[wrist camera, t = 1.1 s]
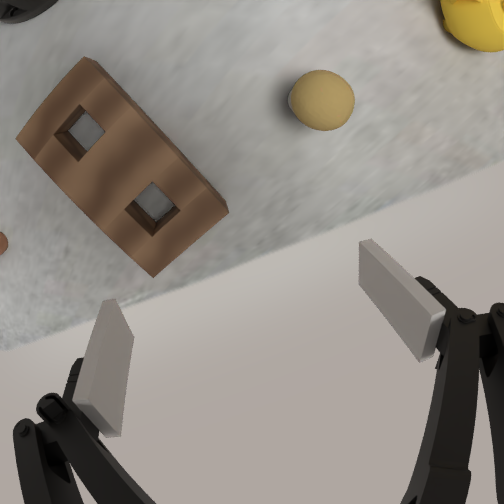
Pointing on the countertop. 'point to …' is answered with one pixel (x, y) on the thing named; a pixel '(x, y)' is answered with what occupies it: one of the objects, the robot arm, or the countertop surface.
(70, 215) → the countertop surface
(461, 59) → the countertop surface
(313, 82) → the light bulb
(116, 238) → the hole block
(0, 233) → the peg
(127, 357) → the robot arm
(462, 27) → the teapot
